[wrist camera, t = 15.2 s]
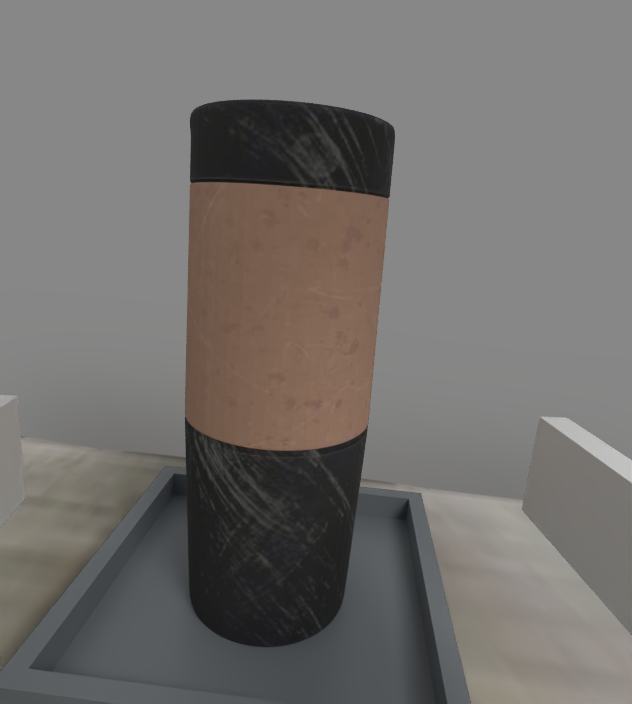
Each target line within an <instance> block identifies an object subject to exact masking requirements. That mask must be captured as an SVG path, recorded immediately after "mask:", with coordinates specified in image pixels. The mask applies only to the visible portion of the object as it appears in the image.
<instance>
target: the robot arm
mask: <svg viewBox="0 0 632 704" xmlns="http://www.w3.org/2000/svg"><path fill="white" fill-rule="evenodd" d="M24 500H25V492H24V478H23V463H22V449H21V435H20V420H19V406H18V396H14V395H0V528H1V526H2V525H3V524H4V523H5V522H6V521H7V520H8V518H9V517H10V516H11V515H12V514H13V513H14V512H15V510H16V509H17V508H18V507H19V506H20V505H21V504H22V502H23V501H24ZM522 510H523V511H524V513H525V514H526V515H527V516H528V517H529V518H530V519H531V521H532V522H533V523H534V524H535V525H536V526H537V527H538V529H539V530H540V531H541V532H542V533H543V534H544V535H545V537H546V538H547V539H548V540H549V541H550V542H551V543H552V545H553V546H554V547H555V548H556V549H557V550H558V551H559V553H560V554H561V555H562V556H563V557H564V558H565V559H566V561H567V562H568V563H569V564H570V565H571V566H572V567H573V569H574V570H575V571H576V572H577V573H578V574H579V575H580V576H581V578H582V579H583V580H584V581H585V582H586V583H587V584H588V586H589V587H590V588H591V589H592V590H593V591H594V592H595V594H596V595H597V596H598V597H599V598H600V599H601V600H602V602H603V603H604V604H605V605H606V606H607V607H608V608H609V610H610V611H611V612H612V613H613V614H614V615H615V616H616V618H617V619H618V620H619V621H620V622H621V623H622V624H623V626H624V627H625V628H626V629H627V630H628V631H629V632H630V634H631V635H632V460H630V459H629V458H627V457H626V456H624V455H623V454H621V453H619V452H618V451H617V450H615V449H614V448H612V447H611V446H609V445H608V444H606V443H604V442H603V441H601V440H600V439H598V438H597V437H595V436H594V435H592V434H591V433H589V432H588V431H586V430H585V429H583V428H582V427H580V426H579V425H577V424H576V423H574V422H572V421H571V420H570V419H568V418H561V417H559V418H558V417H540V418H539V424H538V429H537V434H536V439H535V444H534V449H533V455H532V460H531V465H530V470H529V476H528V481H527V486H526V491H525V496H524V501H523V506H522Z"/></svg>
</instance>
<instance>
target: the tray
mask: <svg viewBox="0 0 632 704" xmlns="http://www.w3.org/2000/svg"><path fill="white" fill-rule="evenodd" d="M0 704H471V701H470V697H469V693H468V689H467V685H466V680H465V676H464V672H463V668H462V664H461V659H460V655H459V651H458V647H457V643H456V638H455V634H454V630H453V626H452V622H451V617H450V613H449V609H448V605H447V601H446V596H445V592H444V588H443V584H442V580H441V575H440V571H439V567H438V563H437V559H436V555H435V550H434V546H433V542H432V538H431V534H430V529H429V525H428V521H427V517H426V513H425V508H424V504H423V500H422V496H421V493H414V492H405V491H395V490H386V489H377V488H367V487H359V494H358V501H357V509H356V516H355V523H354V530H353V538H352V545H351V552H350V559H349V567H348V573H347V580H346V586H345V593H344V598H343V601H342V605H341V607H340V609H339V611H338V613H337V615H336V616H335V618H334V619H333V620H332V622H331V623H330V624H329V625H328V626H327V627H325V628H324V629H323V630H322V631H320V632H319V633H317V634H316V635H314V636H312V637H310V638H308V639H305V640H303V641H300V642H297V643H293V644H289V645H284V646H277V647H258V646H249V645H244V644H240V643H236V642H233V641H230V640H228V639H226V638H223V637H221V636H219V635H218V634H216V633H214V632H213V631H212V630H210V629H209V628H208V627H206V626H205V624H204V623H203V622H202V621H201V620H200V619H199V617H198V616H197V614H196V613H195V611H194V608H193V606H192V603H191V598H190V591H189V567H188V526H187V481H186V468H180V467H171V466H165V467H164V469H163V470H162V471H161V472H160V474H159V475H158V476H157V477H156V479H155V480H154V481H153V482H152V484H151V485H150V486H149V487H148V489H147V490H146V491H145V492H144V494H143V495H142V496H141V497H140V499H139V500H138V501H137V502H136V504H135V505H134V506H133V507H132V509H131V510H130V511H129V512H128V513H127V515H126V516H125V517H124V518H123V520H122V521H121V522H120V523H119V525H118V526H117V527H116V528H115V530H114V531H113V532H112V533H111V535H110V536H109V537H108V538H107V540H106V541H105V542H104V543H103V545H102V546H101V547H100V548H99V550H98V551H97V552H96V553H95V555H94V556H93V557H92V558H91V559H90V561H89V562H88V563H87V564H86V566H85V567H84V568H83V569H82V571H81V572H80V573H79V574H78V576H77V577H76V578H75V579H74V581H73V582H72V583H71V584H70V586H69V587H68V588H67V589H66V591H65V592H64V593H63V594H62V596H61V597H60V598H59V599H58V600H57V602H56V603H55V604H54V605H53V607H52V608H51V609H50V610H49V612H48V613H47V614H46V615H45V617H44V618H43V619H42V620H41V622H40V623H39V624H38V625H37V627H36V628H35V629H34V630H33V632H32V633H31V634H30V635H29V637H28V638H27V639H26V640H25V642H24V643H23V644H22V645H21V646H20V648H19V649H18V650H17V651H16V653H15V654H14V655H13V656H12V658H11V659H10V660H9V661H8V663H7V664H6V665H5V666H4V668H3V669H2V670H1V671H0Z"/></svg>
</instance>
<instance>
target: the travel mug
mask: <svg viewBox="0 0 632 704" xmlns="http://www.w3.org/2000/svg"><path fill="white" fill-rule="evenodd" d="M190 129H191V163H190V164H191V165H190V181H191V184H190V210H189V211H190V212H189V256H188V258H189V259H188V300H187V301H188V302H187V303H188V304H187V344H186V389H185V416H186V417H185V430H186V431H185V433H186V481H187V526H188V567H189V591H190V598H191V603H192V606H193V608H194V611H195V613H196V614H197V616H198V617H199V619H200V620H201V621H202V622H203V623H204V624H205V626H206V627H208V628H209V629H210V630H212V631H213V632H214V633H216V634H218V635H219V636H221V637H223V638H226V639H228V640H230V641H233V642H236V643H240V644H244V645H249V646H258V647H277V646H284V645H289V644H293V643H297V642H300V641H303V640H305V639H308V638H310V637H312V636H314V635H316V634H317V633H319V632H320V631H322V630H323V629H324V628H325V627H327V626H328V625H329V624H330V623H331V622H332V620H333V619H334V618H335V616H336V615H337V613H338V611H339V609H340V607H341V605H342V601H343V598H344V593H345V586H346V580H347V573H348V567H349V559H350V552H351V545H352V538H353V530H354V523H355V516H356V509H357V501H358V494H359V487H360V480H361V471H362V465H363V457H364V450H365V443H366V436H367V427H368V426H367V425H368V420H369V410H370V398H371V387H372V378H373V366H374V356H375V345H376V334H377V324H378V314H379V303H380V292H381V282H382V270H383V260H384V249H385V239H386V228H387V218H388V206H389V199H388V198H389V196H390V185H391V175H392V164H393V154H394V143H395V131H394V128H393V126H392V125H390V124H389V123H388V122H386V121H384V120H382V119H380V118H377V117H375V116H372V115H369V114H366V113H362V112H358V111H354V110H349V109H345V108H339V107H333V106H328V105H320V104H313V103H305V102H293V101H281V100H230V101H229V100H228V101H219V102H213V103H208V104H204V105H202V106H199V107H197V108H196V109H194V110H193V112H192V113H191V117H190Z"/></svg>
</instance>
